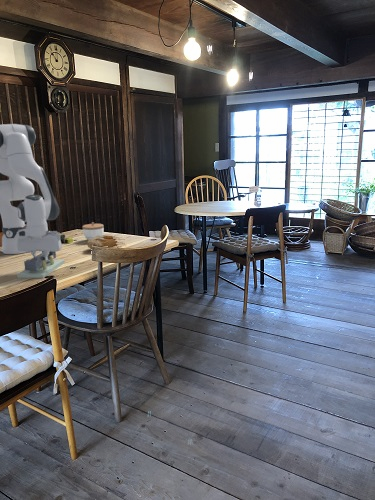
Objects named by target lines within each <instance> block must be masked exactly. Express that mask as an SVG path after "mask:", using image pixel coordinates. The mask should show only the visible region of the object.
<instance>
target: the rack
mask: <svg viewBox="0 0 375 500" xmlns="http://www.w3.org/2000/svg"><path fill="white" fill-rule="evenodd" d="M65 263H66V262H65V259H53V256H50V260H49V261H48V262H46V260H43V261H42V266H40V269H38V270H37V271H36V270H25V269H23V270H21V271H20V272H18V273H17V274H16V278H17V279H18V278H19V279H21V278H22V279H23V278H24V279H25V278H27V279H34V278H35V279H44V278H45V277H47V276H48V275H49V274H51V273H52V272H54V271H55V270H56V269H58V268H59V267H61V266H62V265H63V264H65Z"/></svg>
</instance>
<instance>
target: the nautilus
mask: <svg viewBox="0 0 375 500" xmlns="http://www.w3.org/2000/svg"><path fill="white" fill-rule="evenodd" d="M118 240H119V241H120V243H118ZM121 240H122V241H123V240H124V239H123V237H118V236H116V235H107V234H103V235H99V236H96V237H94V238H91V239H90V240H89V241H88V240H87V242H86V245H87V247H88V248H89V249H91V248H92V245H98V246H108V247H117V248H122V247H123V245H124V246H127V245H126V243H125V242H122V241H121ZM119 245H120V246H119Z"/></svg>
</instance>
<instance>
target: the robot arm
mask: <svg viewBox="0 0 375 500" xmlns="http://www.w3.org/2000/svg"><path fill="white" fill-rule="evenodd" d="M36 137H37V136H36V131H35V129H34V128H33V127H32V126H31V125H28V124H18V123H7V124H3V123H2V124H0V174H1V175H4V176H5V177H8V179H7V180H5V179H4V180H0V217H1V222H2V229H1V230H2V234H3V235H2V236H1V247H2V248H1V249H0V252H2V253H3V254H4V255H5V254H6V255H19V254H25V253H30V255H32V257H33V258H34V257H36V256H37V255H38V254H36V253H37V252H42V251H44V252H45V254H46V255H45V256H44V257H43V260H46V261H47V260H48V257H47V256H48V254H49V251H56V252H60V251H61V250H62V248H63V246H62V244H63V243H61V240H60V234H61V233H60V232H58V231H57V230H53V231H52V230H49V229H48V222H47V221H54V220H56V219H57V218H58V216H59V215H60V214H61V213H60V206H59V204H58V202H57V200H56V197H55V195H54V193H53V190H52V187H51V185H50V182H49V180H48V176H47V175H46V172H45V170H44V168H43V167H42V166H40V165H38V164H37V162H36V161H35V159H34V154H33V151H32V146H33V145H34V144H35V143H36ZM29 179H31V180H33V181H35V182H36V183H37V184H38V186H39V189H40V191H41V194H42V195H40V194H35V186H34V184H33V183H32V181H30V180H29ZM43 198H44V199H43ZM22 200H23V201H22ZM13 201H22V202H20V203H19V204H18V205H17V206H13V205H12V204H11V202H13ZM25 223H26V224H25Z"/></svg>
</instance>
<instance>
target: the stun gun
mask: <svg viewBox="0 0 375 500" xmlns="http://www.w3.org/2000/svg"><path fill="white" fill-rule="evenodd" d="M59 234H60V240H61V244H71V243H73V242H74V240H73V239H74V238H72V237H69V238H67V237H66V234H63V233H59Z"/></svg>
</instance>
